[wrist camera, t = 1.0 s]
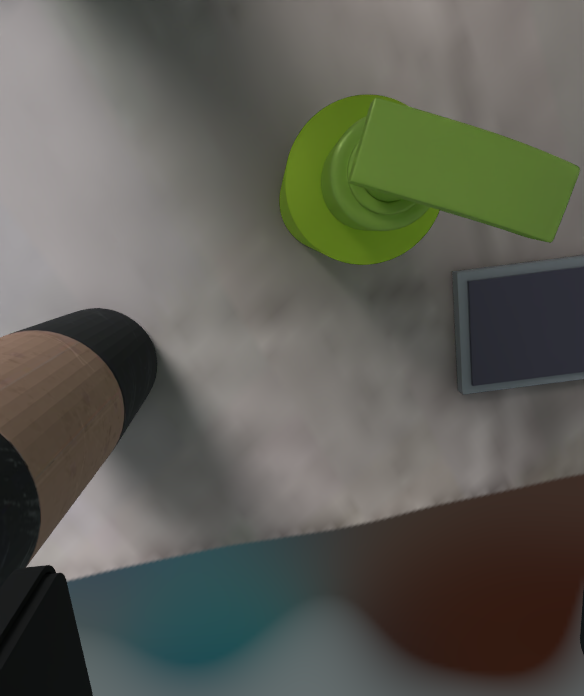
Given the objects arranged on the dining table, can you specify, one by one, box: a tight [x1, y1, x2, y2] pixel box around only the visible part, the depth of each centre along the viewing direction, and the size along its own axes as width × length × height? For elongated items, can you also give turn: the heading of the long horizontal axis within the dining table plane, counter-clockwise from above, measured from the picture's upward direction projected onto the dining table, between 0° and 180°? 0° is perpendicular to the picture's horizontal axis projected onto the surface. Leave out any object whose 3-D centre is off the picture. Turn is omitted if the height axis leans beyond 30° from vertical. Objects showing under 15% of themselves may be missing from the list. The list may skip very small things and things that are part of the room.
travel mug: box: [0, 308, 157, 587], centre depth 23 cm, size 8×8×20 cm
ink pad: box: [452, 255, 584, 394], centre depth 33 cm, size 8×10×1 cm
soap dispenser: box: [279, 95, 580, 265], centre depth 21 cm, size 6×7×20 cm
